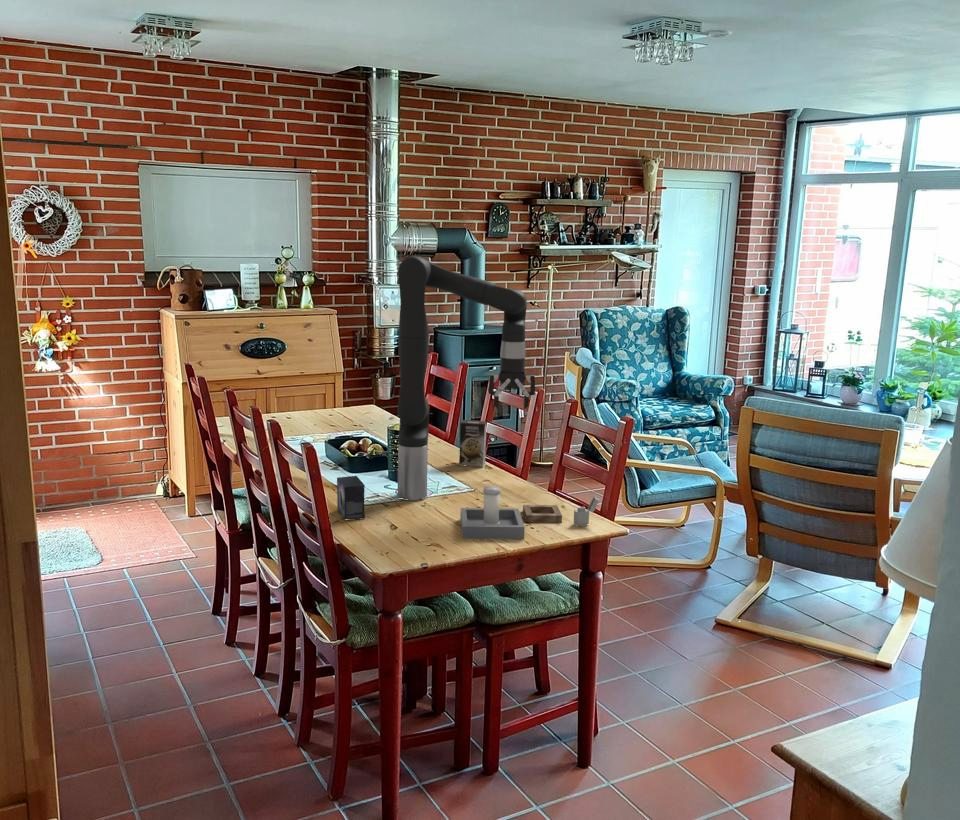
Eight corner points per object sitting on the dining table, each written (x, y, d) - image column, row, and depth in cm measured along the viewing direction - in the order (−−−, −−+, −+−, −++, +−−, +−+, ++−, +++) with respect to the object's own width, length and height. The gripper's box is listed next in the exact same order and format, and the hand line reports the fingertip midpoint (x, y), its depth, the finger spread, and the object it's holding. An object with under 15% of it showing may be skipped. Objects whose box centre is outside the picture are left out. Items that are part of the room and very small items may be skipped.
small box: (335, 510, 266) (335, 476, 264) (357, 508, 268) (357, 475, 266) (343, 521, 256) (343, 486, 254) (365, 519, 259) (365, 484, 257)
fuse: (483, 528, 250) (483, 490, 248) (482, 522, 254) (482, 485, 252) (500, 528, 250) (500, 490, 248) (499, 522, 255) (499, 485, 253)
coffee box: (458, 466, 321) (459, 422, 318) (461, 462, 327) (462, 419, 324) (483, 467, 320) (484, 423, 317) (485, 463, 326) (486, 420, 323)
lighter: (575, 525, 257) (576, 499, 256) (573, 524, 259) (574, 497, 257) (598, 524, 259) (599, 498, 258) (595, 522, 261) (597, 496, 259)
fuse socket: (526, 521, 260) (526, 515, 259) (522, 511, 270) (523, 504, 269) (561, 522, 260) (562, 515, 260) (556, 511, 270) (557, 505, 270)
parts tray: (462, 538, 244) (462, 526, 243) (460, 519, 260) (460, 508, 260) (524, 539, 245) (524, 527, 244) (518, 519, 261) (518, 508, 261)
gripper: (490, 357, 265) (488, 410, 268) (537, 358, 266) (535, 411, 269) (488, 354, 273) (487, 405, 276) (534, 354, 274) (532, 406, 277)
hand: (511, 408), depth 273 cm, fingers open, 8 cm apart
